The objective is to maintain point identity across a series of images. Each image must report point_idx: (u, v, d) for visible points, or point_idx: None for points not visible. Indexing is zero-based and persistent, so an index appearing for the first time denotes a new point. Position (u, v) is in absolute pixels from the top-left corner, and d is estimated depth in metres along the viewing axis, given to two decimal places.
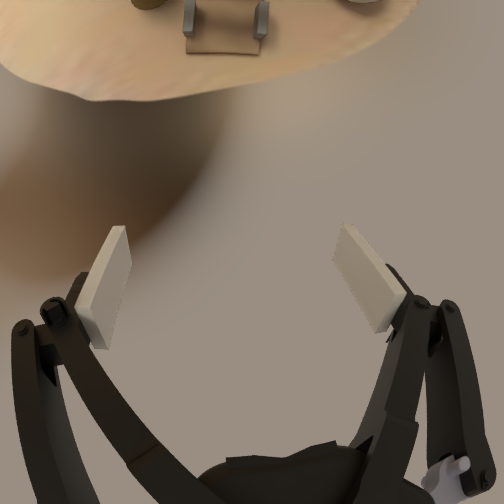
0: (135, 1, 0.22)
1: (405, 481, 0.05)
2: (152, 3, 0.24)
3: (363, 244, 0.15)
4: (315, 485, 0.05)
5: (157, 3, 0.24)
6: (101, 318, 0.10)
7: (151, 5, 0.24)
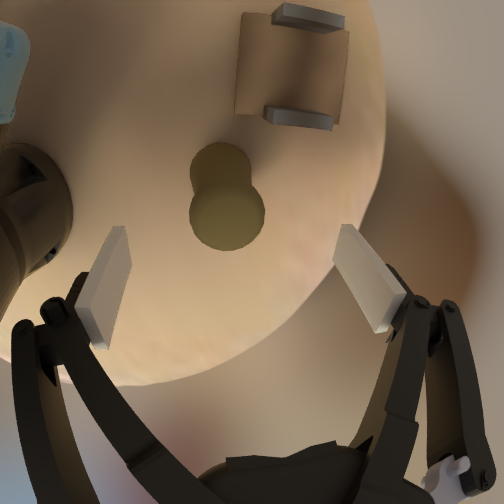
0: None
1: (405, 482, 0.05)
2: (249, 169, 0.25)
3: (363, 244, 0.15)
4: (315, 485, 0.05)
5: (247, 162, 0.25)
6: (101, 318, 0.10)
7: (250, 170, 0.26)
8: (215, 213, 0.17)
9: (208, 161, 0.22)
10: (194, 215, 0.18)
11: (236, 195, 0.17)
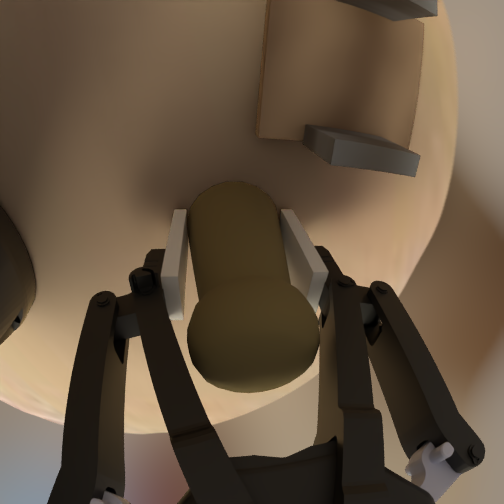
0: None
1: (405, 482, 0.05)
2: None
3: (296, 226, 0.16)
4: (315, 485, 0.05)
5: (276, 213, 0.17)
6: (181, 288, 0.13)
7: None
8: (237, 362, 0.09)
9: (215, 221, 0.14)
10: (196, 357, 0.09)
11: (277, 333, 0.09)
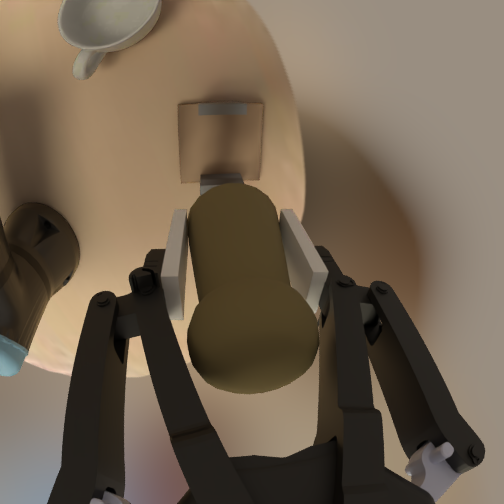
0: None
1: (405, 481, 0.05)
2: (279, 227, 0.17)
3: (296, 226, 0.16)
4: (315, 485, 0.05)
5: (276, 214, 0.17)
6: (181, 288, 0.13)
7: (279, 227, 0.17)
8: (237, 364, 0.09)
9: (216, 223, 0.14)
10: (196, 359, 0.09)
11: (277, 335, 0.09)
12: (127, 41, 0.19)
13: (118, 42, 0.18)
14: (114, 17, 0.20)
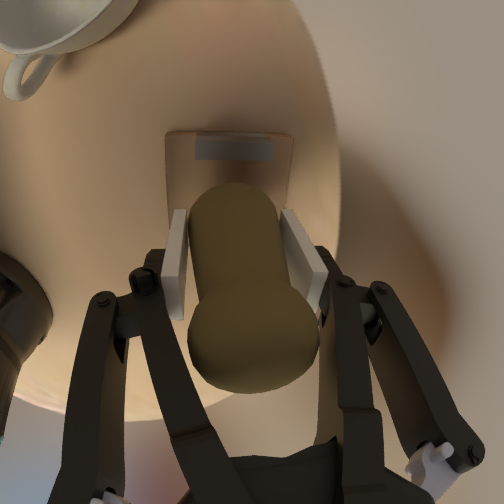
0: None
1: (405, 482, 0.05)
2: None
3: (296, 226, 0.16)
4: (315, 485, 0.05)
5: (276, 214, 0.17)
6: (181, 288, 0.13)
7: None
8: (238, 363, 0.09)
9: (216, 222, 0.14)
10: (196, 358, 0.09)
11: (277, 334, 0.09)
12: (82, 36, 0.10)
13: (64, 38, 0.09)
14: (78, 2, 0.11)
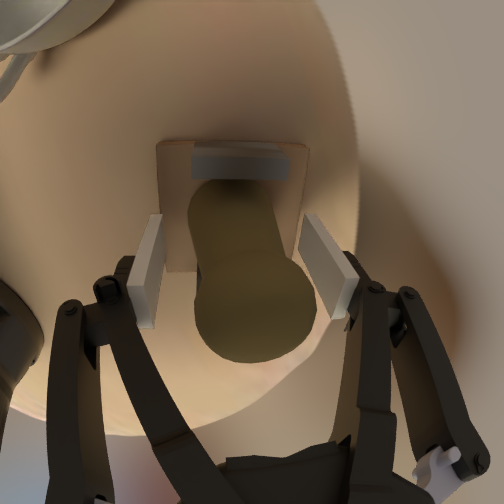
0: None
1: (405, 481, 0.05)
2: None
3: (322, 232, 0.16)
4: (315, 485, 0.05)
5: (270, 203, 0.18)
6: (149, 297, 0.12)
7: None
8: (243, 325, 0.10)
9: (216, 208, 0.15)
10: (204, 324, 0.10)
11: (279, 295, 0.10)
12: (52, 28, 0.07)
13: (28, 33, 0.06)
14: None
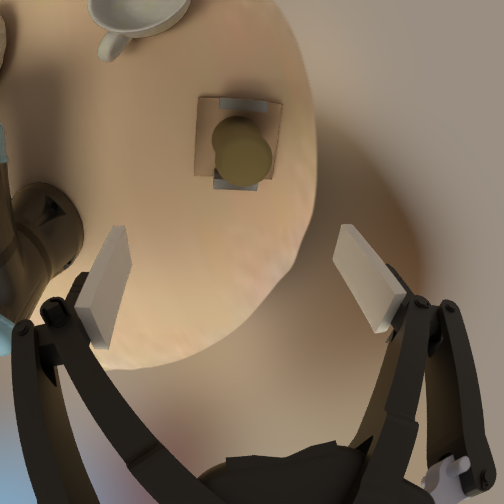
0: None
1: (405, 482, 0.05)
2: None
3: (363, 244, 0.15)
4: (315, 485, 0.05)
5: (259, 131, 0.31)
6: (101, 318, 0.10)
7: None
8: (236, 152, 0.22)
9: (229, 125, 0.27)
10: (219, 155, 0.23)
11: (252, 141, 0.22)
12: (155, 28, 0.19)
13: (147, 28, 0.18)
14: (142, 4, 0.20)
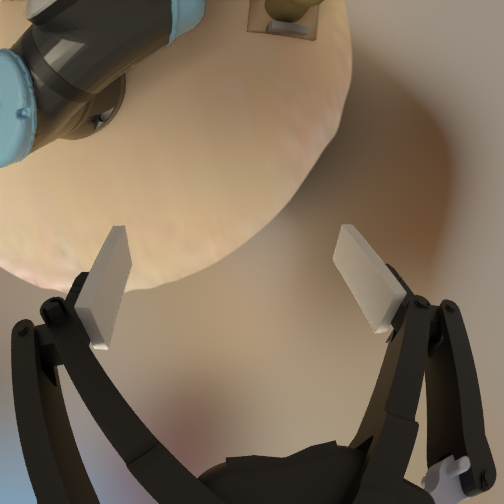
0: (305, 12, 0.26)
1: (405, 482, 0.05)
2: None
3: (363, 244, 0.15)
4: (315, 485, 0.05)
5: None
6: (101, 318, 0.10)
7: None
8: None
9: None
10: None
11: None
12: None
13: None
14: None
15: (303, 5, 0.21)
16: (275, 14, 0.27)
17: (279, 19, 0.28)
